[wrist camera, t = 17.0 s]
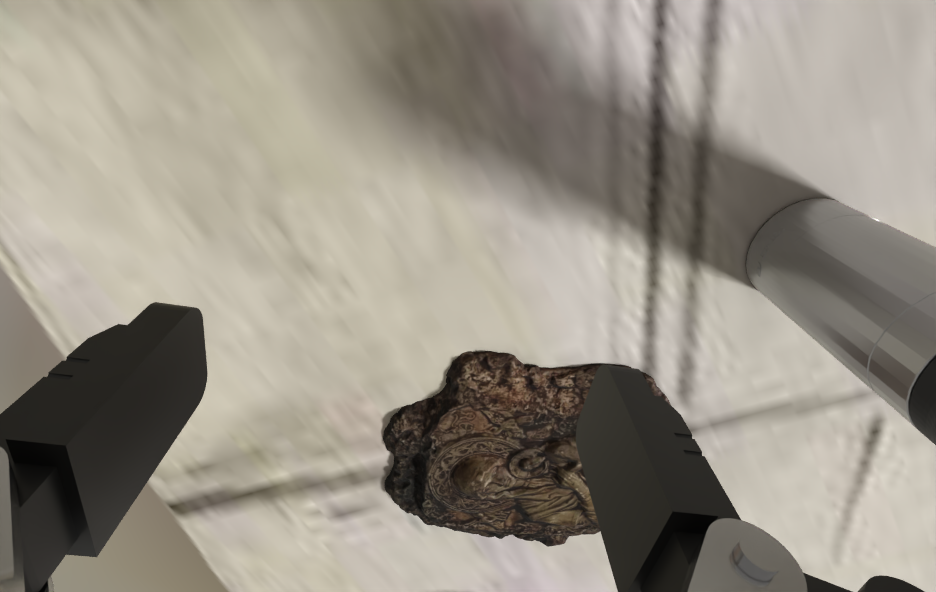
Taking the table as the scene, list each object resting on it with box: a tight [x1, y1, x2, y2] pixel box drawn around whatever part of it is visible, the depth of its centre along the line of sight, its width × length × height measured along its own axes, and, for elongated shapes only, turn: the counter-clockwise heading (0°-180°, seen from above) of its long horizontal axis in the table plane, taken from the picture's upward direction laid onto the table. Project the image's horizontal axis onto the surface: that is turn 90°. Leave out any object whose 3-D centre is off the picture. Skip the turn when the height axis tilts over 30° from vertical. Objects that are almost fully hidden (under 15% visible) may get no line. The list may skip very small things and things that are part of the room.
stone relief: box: [383, 351, 670, 546], centre depth 52 cm, size 26×4×30 cm
